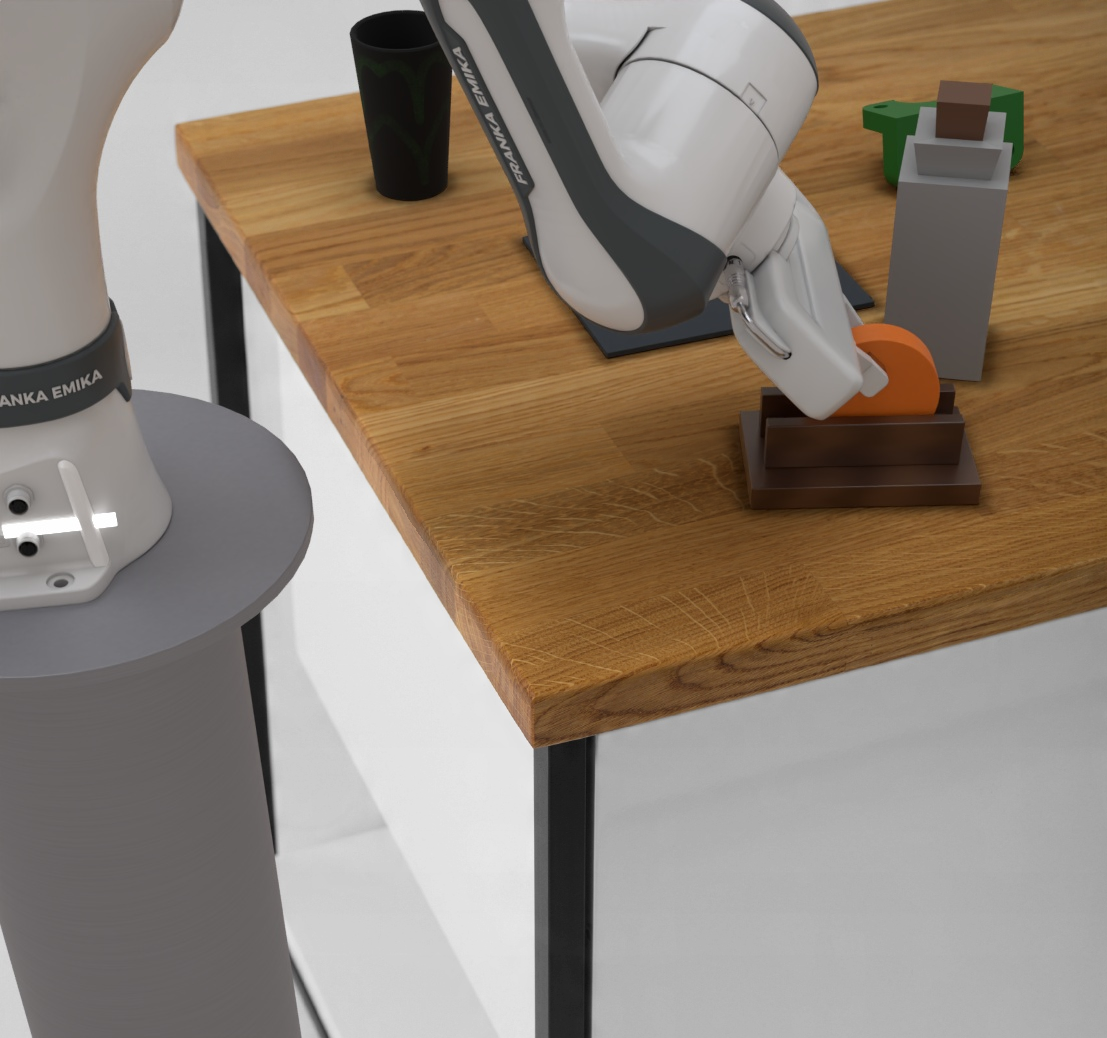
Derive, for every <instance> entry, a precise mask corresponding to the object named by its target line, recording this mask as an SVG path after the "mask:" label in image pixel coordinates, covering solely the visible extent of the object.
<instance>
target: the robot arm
mask: <svg viewBox="0 0 1107 1038" xmlns="http://www.w3.org/2000/svg"><path fill="white" fill-rule="evenodd" d="M418 1H419V3H420V5H421V8H422V9H423V10H422V11H424V12H425V14H426V16H427V18H428V20H429V22H430V25H431V27H432V29H433V31H434V33H435V35H436V37H437V39H438V41H439V43H440V45H441V47H442V49H443V51H444V53H445V55H446V57H447V59H448V61H449V63H450V65H451V67H452V72H453V74H454V76H455V77H456V79H457V81H458V83H459V86H460V87H461V89H462V91H463V93H464V95H465V97H466V99H467V101H468V103H469V105H470V107H471V109H472V111H473V114H474V115H475V117H476V119H477V121H478V123H479V125H480V127H481V130H482V131H483V133H484V135H485V137H486V139H487V141H488V143H489V145H490V147H491V149H492V151H493V153H494V155H495V157H496V159H497V161H498V163H499V165H500V167H501V169H502V171H503V174H504V175H505V177H506V180H507V181H508V184H509V185H510V187H511V190H512V191H513V194H514V196H515V198H516V200H517V203H518V206H519V209H520V211H521V215H522V218H523V223H524V226H525V230H526V233H527V236H528V238H529V241H530V244H531V248H532V250H533V253H534V256H535V258H534V259H535V262H536V264H537V266H538V269H539V271H540V272H541V274H542V277H543V279H544V280H545V281H546V283H547V285H548V286H549V287H550V289H551V290H552V291H553V292H554V294H555V295H556V296H557V297H558V298H559V300H561V301H562V303H564V304H565V305H566V306H567V307H568V308H569V309H570V310H571V311H572V312H573V311H574V312H576V313H577V314H578V315H580V316H581V317H582V318H584V319H586V320H587V321H589V322H590V323H592V324H594V325H596V326H598V327H600V328H602V329H605V330H607V331H610V332H613V333H617V334H622V335H634V334H642V333H649V332H654V331H658V330H662V329H665V328H669V327H672V326H675V325H677V324H680V323H683V322H685V321H687V320H690V319H692V318H694V317H697V316H699V315H700V314H701V313H702V312H703V311H704V309H705V307H706V305H707V303H708V301H710V300H713V299H715V298H717V297H718V298H719V299H720V300H721V301H723V302H724V303H728V304H729V310H730V316H731V323H732V328H733V332H734V337H735V339H736V341H737V343H738V344H739V346H740V347H741V349H742V351H744V352H745V354H746V355H747V357H748V358H749V359H750V360H751V362H753V363H754V365H755V366H756V367H757V368H758V369H759V370H760V371H761V372H762V373H763V374H764V375H765V376H766V377H767V379H769V380H770V381H771V382H772V383H773V385H775V387H778V388H779V389H780V390H781V391H782V392H783V393H784V394H785V395H786V396H787V397H788V398H789V399H790V400H791V401H792V402H793V403H794V404H795V405H796V406H797V407H798V408H799V409H800V410H801V411H802V412H803V413H804V414H805V415H807V416H809V417H811V418H814V419H816V420H824V419H826V418H828V417H829V416H830V415H832V414H833V413H834V412H836V411H837V410H838V409H839V408H841V407H842V406H843V405H844V404H846V403H847V402H848V401H849V400H850V399H851V398H852V397H854V396H855V395H856V394H857V393H858V392H859V391H860V392H861V393H862V394H863V395H864V396H866V397H873V396H875V395H876V394H877V393H878V392H879V391H881V390H882V389H883V388H884V387H886V386H887V384H888V381H889V379H888V376H887V372H886V369H885V366H884V365H883V364H882V363H881V362H880V361H879V360H878V359H877V358H876V357H875V356H874V355H873V354H872V353H871V352H868V353H867V354H866V353H865V352H863V351H862V350H861V349H859V348H858V347H857V346H856V342H855V341H854V339H853V334H852V330H851V328H853V327H856V326H860V325H865V324H866V323H864V322H863V320H862V319H861V317H860V316H859V314H858V313H857V310H854V308H853V307H852V305H851V304H850V302H849V301H848V300H847V298H846V297H845V295H844V294H843V293H842V289H841V285H840V281H839V277H838V272H837V268H836V264H835V260H836V259H835V256H834V252H833V247H832V244H831V239H830V236H829V231H828V229H827V226H826V225H825V224H826V223H824V220H822V218H821V216H820V214H819V213H818V211H817V210H816V208H815V207H814V206H813V204H812V203H811V202H810V201H809V200H808V199H807V197H806V196H805V195H804V193H802V191H801V190H800V189H799V188H798V187H797V186H796V185H795V183H794V181H792V179H791V178H790V177H788V175H787V174H786V173H785V172H784V171H783V169H782V168H781V167H780V165H781V163H782V161H783V159H784V158H785V156H786V154H787V153H788V151H789V149H790V147H791V146H792V144H793V143H794V141H795V139H796V137H797V135H798V134H799V132H800V130H801V129H802V126H803V125H804V123H805V121H806V119H807V117H808V115H809V113H810V112H811V111H810V110H811V108H812V106H813V102H814V100H815V98H816V97H817V95H818V92H819V88H820V81H819V72H818V68H817V67H818V66H817V63H816V59H815V56H814V53H813V50H812V49H811V46H810V43H809V42H808V40H807V38H806V37H805V34H804V33H803V32H802V30H801V28H800V27H799V25H798V24H797V23H796V21H795V19H794V18H792V16H791V15H790V14H789V13H788V12H787V11H786V10H785V8H784V7H782V6H781V5H780V4H779V3H778V2H777V1H776V0H418ZM183 5H184V0H0V612H1V611H11V610H22V609H32V608H42V607H53V606H63V605H73V604H82V603H87V602H90V601H93V600H95V599H96V598H98V597H99V596H100V595H101V594H102V593H103V592H104V591H105V590H106V588H107V587H108V586H109V584H110V583H111V581H112V580H113V578H114V577H115V575H116V574H117V573H118V572H119V571H120V570H121V569H123V568H124V567H125V566H127V565H128V564H130V563H131V562H133V561H134V560H136V559H137V558H139V557H140V556H142V555H143V554H144V553H146V552H147V551H148V550H149V549H150V548H151V547H152V546H153V545H155V544H156V542H157V541H158V540H159V539H160V538H161V537H162V535H163V534H164V532H165V531H166V529H167V527H168V525H169V523H170V520H171V516H172V501H171V497H170V495H169V492H168V491H167V489H166V487H165V485H164V484H163V482H162V480H161V478H160V476H159V474H158V472H157V470H156V469H155V466H154V464H153V462H152V459H151V457H150V455H149V452H148V450H147V447H146V444H145V442H144V439H143V436H142V434H141V431H140V428H139V425H138V422H137V418H136V415H135V412H134V409H133V406H132V402H131V397H132V389H133V386H132V381H133V373H132V366H131V360H130V354H129V349H128V344H127V343H128V342H127V338H126V334H125V333H126V332H125V328H124V324H123V321H122V319H121V318H120V315H119V313H118V310H117V308H116V307H117V306H116V304H115V302H114V300H113V299H112V298H111V297H110V296H109V291H108V285H107V284H108V283H107V279H106V272H105V266H104V258H103V252H102V251H103V250H102V243H101V241H102V240H101V233H100V222H99V209H98V181H99V173H100V172H99V171H100V166H101V161H102V156H103V151H104V148H105V144H106V142H107V141H106V140H107V138H108V134H109V131H110V129H111V127H112V123H113V122H114V118H115V116H116V113H117V112H118V110H119V107H120V106H121V103H122V101H123V98H124V97H125V95H126V93H127V91H129V89H130V87H131V85H132V84H133V82H134V81H135V79H136V78H137V76H138V75H139V73H140V72H141V71H142V69H143V68H144V67H145V65H146V64H147V63H148V62H149V61H150V60H151V58H152V57H153V56H154V55H156V53H157V52H158V51H159V50H160V49H161V48H162V47H163V46H164V45H165V44H166V43H167V42H168V40H169V39H170V38H171V36H172V33H173V32H174V30H175V28H176V26H177V23H178V20H179V18H180V16H181V13H182V10H183V9H182V8H183ZM534 256H533V257H534ZM834 259H835V260H834ZM574 312H573V313H574Z"/></svg>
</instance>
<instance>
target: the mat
mask: <svg viewBox="0 0 1107 1038" xmlns="http://www.w3.org/2000/svg"><path fill="white" fill-rule="evenodd" d="M521 239H522V243H523V244H524V245H525V247H526V248H527V250H528V252H530V254H531V255H532V257H533V258H534V259H535V256H534V253H533V250H532V248H531V244H530V241H529V238H528V235H526V236H525V235H524V236H522V238H521ZM834 260H835V264H836V268H837V272H838V277H839V281H840V285H841V289H842V293H843V294H844V295H845V297H846V298H847V300H848V301H849V302H850V304H851V305H852V307H853V308H854V310H855V311H857V310H861V309H867V308H873V307H875V303H876V302H875V300H874V299H873V298H872V297H871V296H870V294H869V293H867V291H865V290H864V289H863V287H862V286H861V285H860V284H859V283H858V282H857V281H856V280H855V279H854V278H853V277H852V276H851V275H850V274H849V273H848V272H847V271H846V270H845V269H844V267H843V266H842V265H841V264H840V263H839V262H838V261H837V260H836V259H835V258H834ZM572 312H573V313H574V314H575V316H576V318H577V319H578V320H579V321H580V323H581V324H582V326H583V327H584V328H585V329H586V331H587V332H588V334H589V335H590V336H591V338H592V339H593V341H594V342H595V344H596V345H597V346H598V348H599V349H600V351H601V352H602V353H603V354H604V356H605V358H607V359H610V358H614V357H621V356H625V355H630V354H635V353H636V354H637V353H640V352H645V351H651V350H656V349H661V348H665V347H671V346H672V347H673V346H676V345H683V344H686V343H693V342H697V341H703V340H707V339H713V338H718V337H722V336H723V337H724V336H728V335H732V334H734V332H733V328H732V323H731V316H730V310H729V304H728V303H724V302H723V301H721V300H720V299H719V298H718V297H717V298H715V299H713V300H710V301H708V303H707V305H706V307H705V309H704V311H703V312H702V313H701V314H700V315H699V316H697V317H694V318H692V319H690V320H687V321H685V322H683V323H680V324H677V325H675V326H672V327H669V328H665V329H662V330H658V331H654V332H649V333H642V334H634V335H622V334H617V333H613V332H610V331H607V330H605V329H602V328H600V327H598V326H596V325H594V324H592V323H590V322H589V321H587V320H586V319H584V318H582V317H581V316H580V315H578V314H577V313H576V312H574V311H573V310H572ZM734 335H735V334H734Z"/></svg>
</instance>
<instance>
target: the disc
mask: <svg viewBox="0 0 1107 1038" xmlns="http://www.w3.org/2000/svg"><path fill="white" fill-rule="evenodd" d="M864 324H865V325H860V326H856V327H853V328H851V330H852V334H853V339H854V341H855V342H856V346H857V347H858V348H859V349H861V350H862V351H863V352H865V353H866V354H867V353H868V352H871V353H872V354H873V355H874V356H875V357H876V358H877V359H878V360H879V361H880V362H881V363H882V364H883V365H884V366H885V369H886V372H887V376H888V379H889V381H888V384H887V386H886V387H884V388H883V389H882V390H881V391H879V392H878V393H877V394H876V395H875V396H873V397H866V396H864V395H863V394H862V393H861V392H860V391H859V392H858V393H857V394H856V395H855V396H854V397H852V398H851V399H850V400H849V401H848V402H847V403H846V404H844V405H843V406H842V407H841V408H839V409H838V410H837V411H836V412H834V413H833V414H832V415H830V416H829V417H848V416H895V415H934V413H935V411H936V408H937V405H938V401H939V397H940V384H939V383H940V378H938V375H937V371H936V368H935V365H934V361H933V358H932V356H931V353H930V351H929V350H928V348H927V347H926V345H925V344H924V343H923V342H922V341H921V340H920V339H919V338H918V337H917V336H916V335H914V334H913V333H911V332H909V331H907V330H905V329H903V328H901V327H897V326H894V325H889V324H884V323H878V322H877V323H864Z"/></svg>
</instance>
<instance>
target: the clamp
mask: <svg viewBox="0 0 1107 1038" xmlns="http://www.w3.org/2000/svg"><path fill="white" fill-rule="evenodd" d="M987 83H988V82H987ZM988 84H990V83H988ZM992 84H993V86H992V94H991V102H990V108H989V112H1003V113H1006V120H1005V129H1004V138H1003V142H1006V143H1013V146H1012V155H1011V165H1010V170H1012V169H1014V168H1015V167H1016V166H1017V165H1018V164H1019V163H1020V161H1022V158H1023V155H1024V150H1025V106H1024V105H1025V93H1024V92H1025V91H1024V90H1020V89H1016V88H1011V87H1007V86H1003V85H999V84H998V85H997V84H994V83H992ZM920 107H933V108H936V107H937V100H930V101H918V102H905V101H904V102H903V101H898V100H895V99H890V100H885V101H880V102H876V103H871V104H867V105H864V106H863V107H862V110H861V111H862V128H863V129H865V130H868V131H872V132H876V133H879V134H881V136H882V137H881V138H882V164H883V166H882V167H883V176H884V179H885V181H886V182H887V183H888V184H889V185H890V186H892V187H894V188H895V187H896V188H898V181H899V176H900V170H901V165H902V160H903V155H904V150H905V144H906V139H907V135H911V136H915V134H916V129H917V123H918V118H919V113H920Z"/></svg>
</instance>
